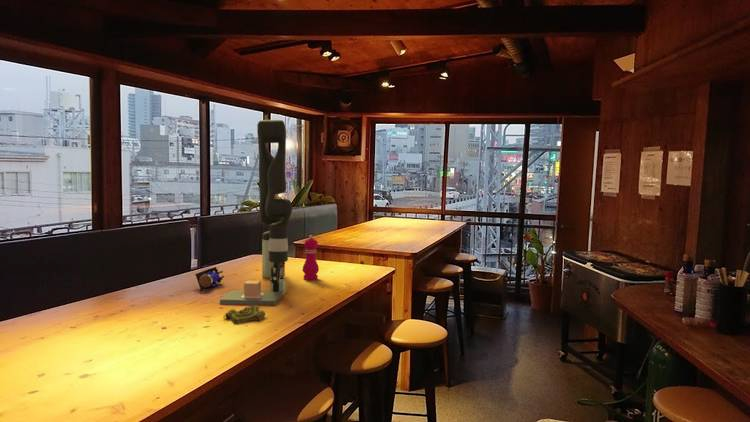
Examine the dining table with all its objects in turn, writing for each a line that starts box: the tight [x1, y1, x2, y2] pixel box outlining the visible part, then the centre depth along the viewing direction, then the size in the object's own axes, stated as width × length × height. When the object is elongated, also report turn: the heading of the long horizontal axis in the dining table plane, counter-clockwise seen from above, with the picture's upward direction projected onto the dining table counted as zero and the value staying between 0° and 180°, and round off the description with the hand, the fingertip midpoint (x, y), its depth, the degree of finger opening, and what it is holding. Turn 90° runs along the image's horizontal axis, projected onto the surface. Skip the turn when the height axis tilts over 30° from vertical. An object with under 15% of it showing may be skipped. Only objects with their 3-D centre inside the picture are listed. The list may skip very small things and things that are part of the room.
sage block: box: [269, 278, 287, 295], centre depth 196 cm, size 5×5×5 cm
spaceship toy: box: [223, 305, 266, 325], centre depth 164 cm, size 12×18×4 cm
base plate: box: [219, 289, 284, 306], centre depth 185 cm, size 14×20×2 cm
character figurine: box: [194, 266, 225, 291], centre depth 203 cm, size 8×7×15 cm
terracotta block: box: [243, 280, 262, 297], centre depth 184 cm, size 5×5×5 cm
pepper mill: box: [302, 234, 320, 281], centre depth 221 cm, size 7×7×20 cm
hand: (278, 290), depth 196 cm, fingers open, 7 cm apart
